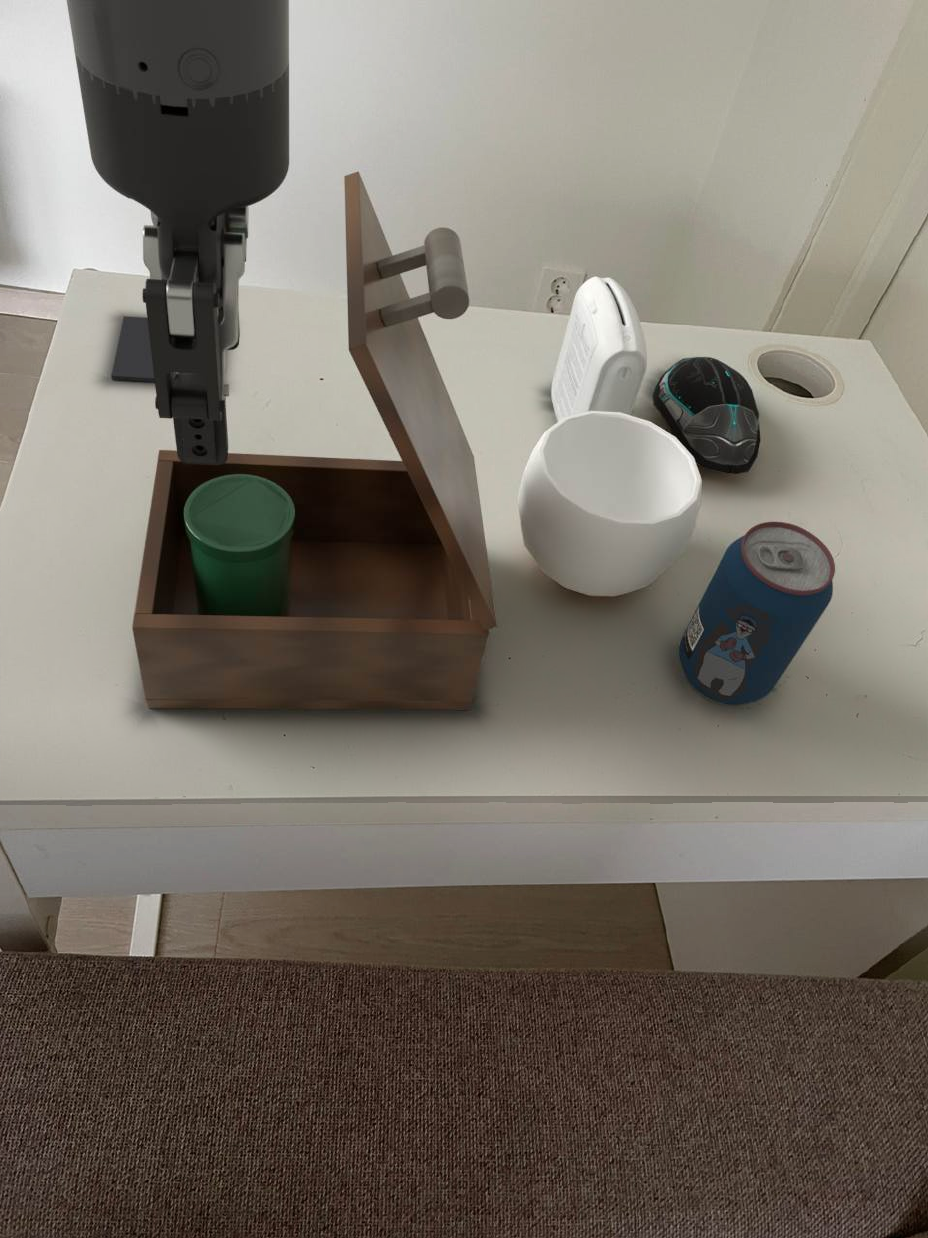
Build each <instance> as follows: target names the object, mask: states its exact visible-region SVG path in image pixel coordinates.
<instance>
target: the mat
mask: <svg viewBox="0 0 928 1238" xmlns="http://www.w3.org/2000/svg"><path fill="white" fill-rule="evenodd" d="M190 374H193V373H190ZM111 380H112V381H113V380H114V381H127V382H128V381H132V382H148V383H155V379H154V371H153V362H152V354H151V345H150V336H149V328H148V319H147V317H140V316H125V315H124V316H123V317H122V322H121V327H120V332H119V336H118V343H117V346H116V352H115V356H114V361H113V366H112V371H111Z"/></svg>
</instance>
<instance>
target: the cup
mask: <svg viewBox="0 0 928 1238" xmlns="http://www.w3.org/2000/svg"><path fill="white" fill-rule="evenodd" d="M702 486H703V479H702V476H701V473H700V471H699V468H698V464H697V463H696V462H695V459H694V457H693V456H692V455H691V454H690V453H689V451H688V450H687V449H686V448H685V447H684V446H683V445H682V444H681V443H680V441H679V440H678V439H677V438H676V437H675V436H674V435H673V434H671V433H670V432H668V431H666V430H665V429H664V428H662V427H660V426H658V425H656V424H655V423H653V422H651V421H650V420H646V419H643V418H640V417H637V416H635V415H632V414H631V415H627V414H624V413H621V412H603V411H588V412H584V413H580V414H576V415H572V416H568V417H564V418H563V419H561V420H560V421H559V422H556V423H555V424H554V425H553V424H552V426H550V428H548V429H546V430H545V431H544V432H543V434H542V435H541V437H540V439H539V440H538V442H537V443H536V444H535V446H534V447H533V449H532V450H531V453H530V456H529V458H528V461H527V463H526V466H525V468H524V470H523V474H522V477H521V482H520V485H519V490H518V494H517V498H516V501H517V502H516V503H517V509H518V517H519V524H520V529H521V535H522V541H523V546H524V547H525V548H526V550H527V552H528V553H529V555H530V556H531V557H532V559H533V560H534V561H535V563H536V564H537V565H538V567H539V568H540V570H541V571H542V572H543V574H544V575H546V576H548V577H549V578H550V579H552V580H553V581H555V582H556V583H558V584H559V585H560V586H562V587H563V588H565V589H567V590H571V591H573V592H576V593H579V594H583V595H587V596H589V597H616V596H621V595H625V594H628V593H631V592H635V591H637V590H639V589H643V588H646V587H648V586H650V585H651V584H652V583H654V581H656V580H657V578H658V577H659V576H661V574H662V573H664V572H665V571H666V570H667V569H668V568H669V567H670V566H671V565H672V564H673V563H674V562H675V561H676V560H677V559H678V558H679V557H680V556H681V555H682V554H683V553H684V552H685V549H686V548H687V545H688V544H689V540H690V538H691V536H692V534H693V532H694V529H695V528H696V524H697V519H698V515H699V512H700V511H699V510H700V507H701V498H702Z"/></svg>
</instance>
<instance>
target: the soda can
mask: <svg viewBox="0 0 928 1238" xmlns="http://www.w3.org/2000/svg"><path fill="white" fill-rule="evenodd" d="M835 574H836V564H835V560H834V557H833V555H832V553H831V552H830V550H829V548H828V547H827V545H825V544H824V542H823V541H821V540H820V538H818V536H816V535H814V534H813V533H811V532H810V531H808V530H806V529H804V528H803V527H800V526H798V525H797V524H792V523H789V522H785V521H784V522H783V521H767V522H765V521H764V522H761V523H758V524H756V525H753V526H752V527H751V528H750V529H748V530H747V531H746V533H745V534H744V535H742V536H740V537H739V538H736V539H735V540H733V541H732V542H731V543H730V545H728V546H727V548H726V549H725V551H724V553H723V555H722V558H721V559H720V561H719V563H718V565H717V567H716V569H715V572H713V575H712V577H711V579H710V581H709V583H708V585H707V588H706V589H705V591H704V593H703V595H702V597H701V599H700V601H699V603H698V605H697V607H696V609H695V610H694V613H693V614H692V617H691V618H690V620H689V622H688V624H687V627H686V628H685V631H684V632H683V634H682V636H681V638H680V641H679V645H678V658H679V659H678V660H679V663H680V666H681V669H682V672H683V674H684V677H685V678H686V680H687V682H688V683H689V685H690V686H691V688H692V689H693V690H694V691H695V692H697V694H699V695H700V696H702V698H705V699H706V700H709V701H711V702H713V703H715V704H719V705H723V706H741V705H747V704H751V703H754V702H757V701H760V700H762V699H764V698H766V697H767V696H768V695H769V694H771V692H772V691H773V690H774V689H775V687H776V686H777V684H778V682H779V681H780V680H781V678H782V676H783V674H784V673H785V672H786V670H787V669H788V667H789V665H790V664H791V663H792V661H793V659H794V658H795V656H796V655H797V653H798V652H799V650H800V649H801V647H802V646H803V644H804V643H805V642H806V639H807V638H808V636H809V635H810V634H811V632H812V631H813V629H814V627H815V626H816V625H817V623H818V622H819V620H820V619H821V617H822V615H823V614H824V612H825V610H826V609H827V608H828V607H829V604H830V603H831V601H832V599H833V594H834V592H833V591H834V582H833V580H834V577H835Z"/></svg>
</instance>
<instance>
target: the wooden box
mask: <svg viewBox="0 0 928 1238" xmlns="http://www.w3.org/2000/svg"><path fill="white" fill-rule="evenodd" d="M234 474H245V475H253V476H258V477H262V478H265V479H267V480H270V481H272V482H274V483H275V484H277V485H278V486H280V487H281V488H282V489H283V490H285V492H286V493H287V494H288V495H289V496H290V498H291V500H292V502H293V504H294V508H295V529H294V533H293V535H292V544H291V611H290V616H289V617H273V616H223V615H198V613H197V604H196V594H195V584H194V575H193V565H192V555H191V546H190V539H189V537H188V536H187V533H186V529H185V522H184V508H185V504H186V502H187V499H188V498H189V496H190V495H191V494H192V492H193V491H194V490H195V489H197V488H198V487H199V486H200V485H202V484H203V483H205V482H207V481H209V480H212V479H214V478H217V477H221V476H226V475H234ZM153 481H154V482H153V487H152V494H151V500H150V508H149V513H148V514H149V515H148V520H147V527H146V534H145V540H144V547H143V553H142V559H141V567H140V572H139V573H140V574H139V580H138V587H137V593H136V600H135V607H134V611H133V612H134V614H133V619H132V625H131V628H132V634H133V641H134V645H135V649H136V650H135V651H136V655H137V656H136V657H137V662H138V666H139V672H140V677H141V682H142V688H143V693H144V699H145V705H146V707H147V709H250V710H251V709H254V710H255V709H257V710H259V709H262V710H263V709H265V710H266V709H269V710H270V709H271V710H273V709H274V710H275V709H276V710H284V709H285V710H439V711H441V710H442V711H443V710H444V711H445V710H448V711H449V710H454V711H455V710H457V711H459V710H462V711H463V710H465V711H469V710H470V709H471V706H472V702H473V700H474V694H475V691H476V687H477V684H478V679H479V676H480V671H481V669H482V668H481V667H482V664H483V660H484V656H485V653H486V652H485V651H486V648H487V646H488V645H487V644H488V641H489V637H490V629H488V630H484V629H483V627H482V625H481V622H480V620H479V618H478V616H477V614H476V612H475V610H474V608H473V606H472V604H471V602H470V600H469V598H468V596H467V594H466V591H465V589H464V587H463V585H462V583H461V581H460V579H459V577H458V575H457V573H456V571H455V569H454V567H453V565H452V563H451V560H450V558H449V556H448V554H447V552H446V550H445V548H444V546H443V544H442V542H441V540H440V538H439V536H438V534H437V532H436V529H435V527H434V525H433V523H432V521H431V519H430V517H429V515H428V513H427V511H426V509H425V507H424V505H423V503H422V501H421V499H420V496H419V494H418V492H417V490H416V488H415V486H414V484H413V482H412V480H411V478H410V476H409V474H408V472H407V470H406V468H405V465H404V463H403V461H402V460H391V459H390V460H388V459H370V458H369V459H368V458H367V459H366V458H346V457H345V458H344V457H343V458H342V457H323V456H303V455H302V456H300V455H282V454H281V455H280V454H279V455H278V454H260V453H259V454H257V453H237V452H228V457H227V461H226V462H225V463H224V464H222V465H202V464H187V463H184V462H182V461H181V460H179V458H178V456H177V450H174V449H173V450H172V449H159V450H158V454H157V462H156V467H155V474H154V480H153Z"/></svg>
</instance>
